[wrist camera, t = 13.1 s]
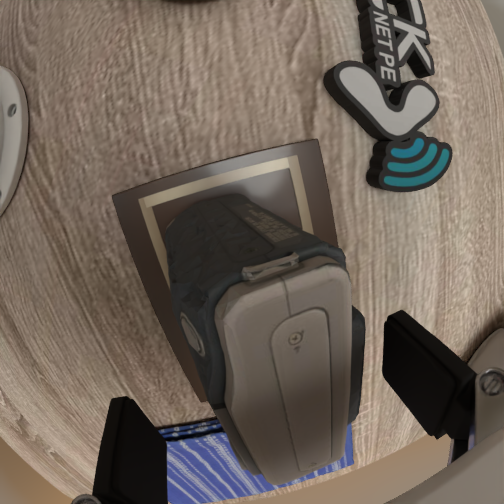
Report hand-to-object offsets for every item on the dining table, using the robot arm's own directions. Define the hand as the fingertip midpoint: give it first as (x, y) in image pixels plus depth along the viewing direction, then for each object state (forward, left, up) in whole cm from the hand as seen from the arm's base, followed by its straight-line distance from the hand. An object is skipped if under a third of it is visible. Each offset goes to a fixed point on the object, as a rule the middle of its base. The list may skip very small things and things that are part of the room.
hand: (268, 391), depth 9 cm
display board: (+1, -1, -10) cm, 10 cm away
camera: (-1, 0, -8) cm, 8 cm away
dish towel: (-5, -20, -10) cm, 23 cm away
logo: (+15, +15, -10) cm, 23 cm away
